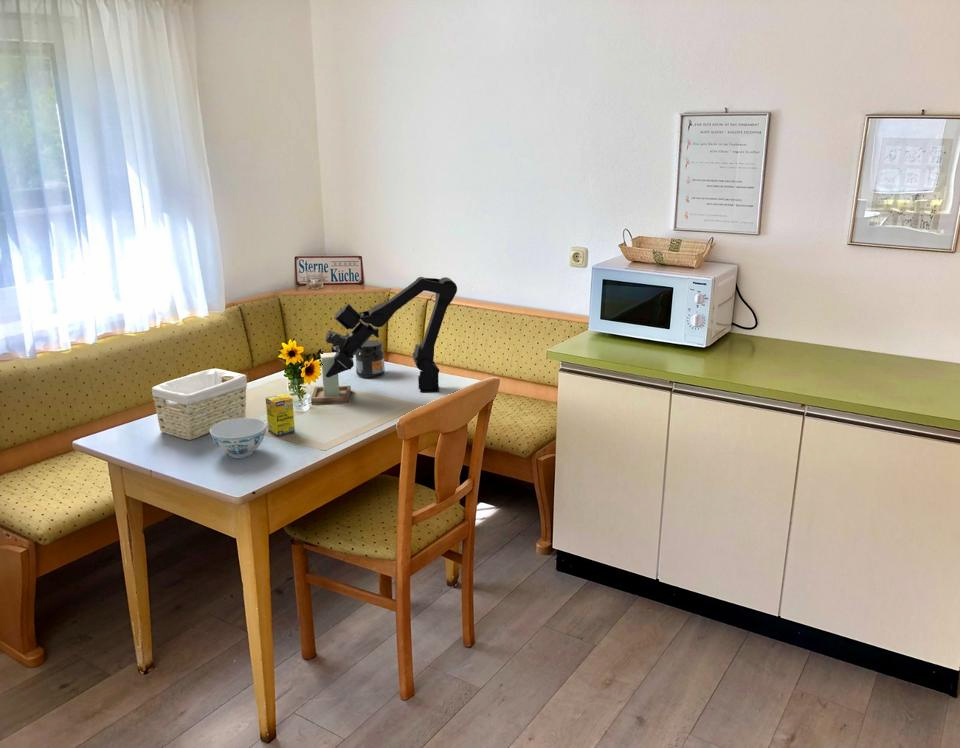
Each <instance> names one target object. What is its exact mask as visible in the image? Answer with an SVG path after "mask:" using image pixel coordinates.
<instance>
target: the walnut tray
mask: <svg viewBox="0 0 960 748" xmlns="http://www.w3.org/2000/svg"><path fill="white" fill-rule="evenodd" d="M351 388H352V387H351V385H339V396H337V397H324V393H323V385H322V386H314V388H313V391H312V394H311V396H310V403H311V405H320V404H321V405H322V404H325V405H326V404H329V403H330V404H348V403H349V401H350V398H351V393H352V391H351Z"/></svg>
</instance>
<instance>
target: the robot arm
mask: <svg viewBox="0 0 960 748" xmlns="http://www.w3.org/2000/svg"><path fill="white" fill-rule="evenodd" d="M415 279H416V280H415V281H413V282H412V283H410V284H409V285H407V286H405V288H404V289H402V290H401V291H400V292H398V293H397V294H395V295H394V296H392V297H391V298H390V299H388V300H387V301H383V302H380V303H378V304H376V305H375V306H373V307H371V308H369V310H365V311H360V312H358V311H357V310H356V309H354V308H353V306H352V305H351V304H350V303H347V304H346V305H344V306H343V307H342V308H340V309H339V310H338V311H337V312H336V314H335V315H334V317H333V318H334V320H335V321H336V322H337V323H339V324H340V325H341V326H342V327H344V328H345V329H346V330H347V331H348V330H352V331H351V332H350V333H346V334H345V335H343V334H341V333H338V332H335V331H333V330H328V331H327V333H326V336H325V339H324V340H325V342H326V343H327V344H331V346H330V348H331V349H330V350H331V353H334V352H336V355H335V356H334V363H333V365H332V366H331V368H330V369H329V371H328V372H327V374H326V377H327V378H329V377H331V376H333V375H336V374H338V375H339V374H341V373H342V372H345V371H348V370H351V369H353V367H354V366H355V365H354V360H353V359H354V357H355V353H356V352H357V351H358V350H359V349H360V350H361V349H362V346H363V344H364V343H365V342H366V341H367V340H370V338H371V337H372V336H374V337H376V338H377V339H378V338H380V337H379V336H380V335H379V332H380V331H379V328H382V327H384V325H385V324H387V322H388V321H390V319H391V318H392V317H393V315H394V314H395V313H396V312H397V311H399V310H400V309H401V308H403V307H404V306H405V305H406V304H408V303H409V302H410V301H412V300H413V299H415V298H416V297H417V296H418V295H420V294H421V293H422V292H424V291H426V292H431V293H434V294H435V301H434V305H433V308H432V311H431V313H430V314H431V315H430V318H429V322H428V325H427V328H426V330H425V334H424V337H423V340H422V341H421V343H420V344H417V343H416V344H415V346H414V351H413V353H412V354H411V355H412V356H413V359H412V360H413V362H414V364H415V365H416V368H417V369H418V370H419V375H418V376H417V378H418V390H419V392H420V393H439V392H440V387H439V386H440V385H439V373H440V369H439V367H438V365H437V364H436V362H434V360H435V359H434V358H435V345H436V342H437V339H438V337H439V333H440V329H441V327H442V324H443V321H444V318H445V315H446V313H447V309H448V307H449V305H450V304H451V303H452V301H453V300H454V298H455V296H456V295H457V292H458V286H457V284H456V283H455V282H454V281H453V280H452V279H451V278H450V277H447V276H446V277H445V276H444V277H441V278H436V277H435V278H433V277H432V278H431V277H425V276H419V277H417V278H415ZM374 327H375V328H374Z"/></svg>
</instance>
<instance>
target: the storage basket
mask: <svg viewBox="0 0 960 748" xmlns="http://www.w3.org/2000/svg"><path fill="white" fill-rule="evenodd" d="M223 380H224V382H223ZM247 380H248V379H247V375H246V374H243V373H239V372H234V371H229V370H226V369H220V368H210V369H206V370H202V371H198V372H195V373H191V374H187V375H186V376H182V377H178V378H175V379H171V380H168V381H165V382H163V383H160V384H157V385H155V386H152V388H151V395H152V399H153V401H154V406H155V412H156V415H157V416H156V417H157V421H158V426H159V430H160V432H162V433H164V434H167V435H170V436H175V437H177V438H181V439H185V440H189V441H191V440H195V439H197V438H200V437H202V436H205V435H207V434H210V429H211V428H212V427H213V426H214V425H216V424H218V423H220V422H223V421H226V420H231V419H237V418H247V417H246V410H247V409H246V407H247V406H246V405H247V403H246V401H247V395H246V394H247V387H248V381H247Z"/></svg>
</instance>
